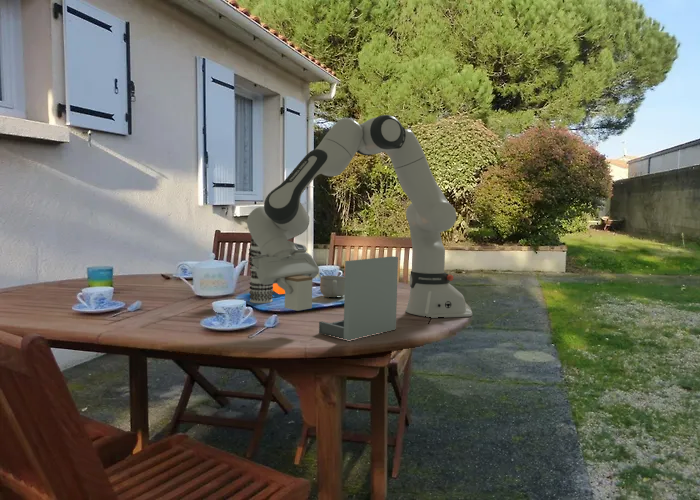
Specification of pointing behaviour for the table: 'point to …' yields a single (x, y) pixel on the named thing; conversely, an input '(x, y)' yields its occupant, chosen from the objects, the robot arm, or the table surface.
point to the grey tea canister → (299, 293)
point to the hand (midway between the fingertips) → (299, 291)
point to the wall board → (367, 299)
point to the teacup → (332, 286)
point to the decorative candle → (258, 290)
